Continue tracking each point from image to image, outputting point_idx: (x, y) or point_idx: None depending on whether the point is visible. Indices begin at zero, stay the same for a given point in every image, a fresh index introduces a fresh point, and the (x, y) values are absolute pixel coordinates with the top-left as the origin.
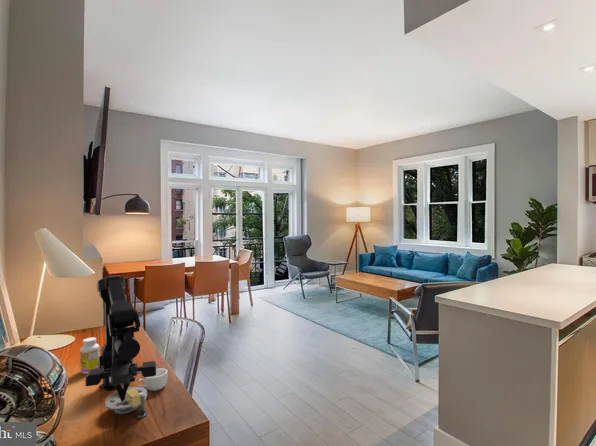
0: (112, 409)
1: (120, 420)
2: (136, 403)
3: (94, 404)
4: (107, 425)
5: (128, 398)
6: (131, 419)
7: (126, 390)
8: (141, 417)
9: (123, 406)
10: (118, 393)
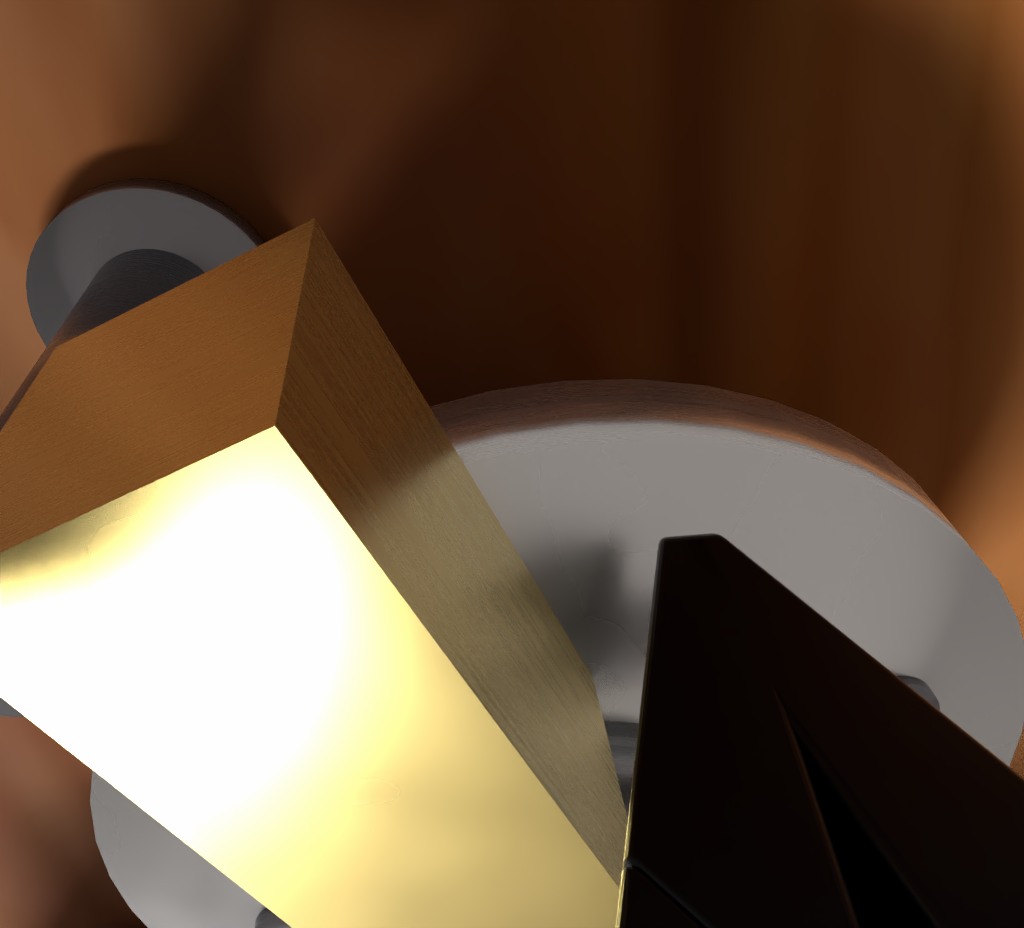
0: (871, 451)
1: (623, 248)
2: (157, 324)
3: None
4: (884, 135)
5: (504, 623)
6: (384, 201)
7: (648, 906)
8: (142, 186)
9: (621, 431)
10: (1015, 779)
